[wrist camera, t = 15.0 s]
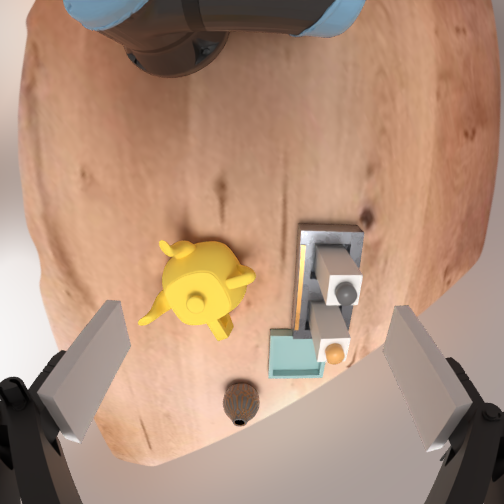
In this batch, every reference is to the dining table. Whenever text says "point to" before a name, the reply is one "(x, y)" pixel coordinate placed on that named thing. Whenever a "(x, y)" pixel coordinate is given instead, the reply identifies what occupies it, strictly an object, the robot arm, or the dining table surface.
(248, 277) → the teapot
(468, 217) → the dining table surface
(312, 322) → the plug
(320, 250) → the twin plug
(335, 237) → the grey socket base
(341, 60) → the dining table surface
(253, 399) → the vase
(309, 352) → the tray
